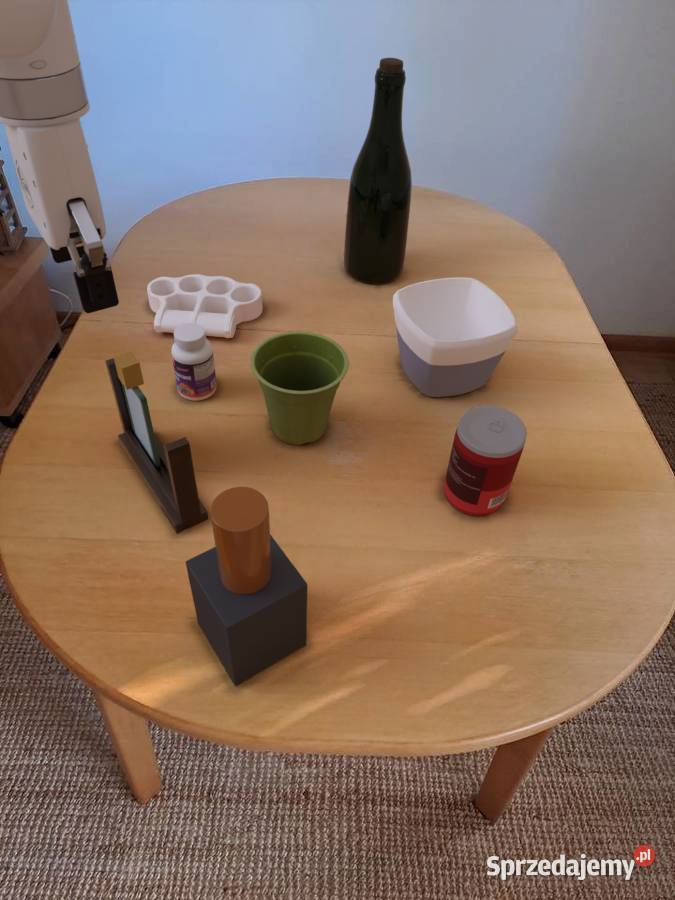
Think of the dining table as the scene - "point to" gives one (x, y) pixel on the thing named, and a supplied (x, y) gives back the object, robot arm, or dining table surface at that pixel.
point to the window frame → (162, 468)
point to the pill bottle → (193, 362)
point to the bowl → (451, 334)
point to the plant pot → (299, 382)
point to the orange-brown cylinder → (242, 539)
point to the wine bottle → (380, 186)
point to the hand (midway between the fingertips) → (85, 282)
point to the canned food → (483, 459)
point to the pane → (137, 403)
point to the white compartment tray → (203, 303)
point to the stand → (250, 615)
